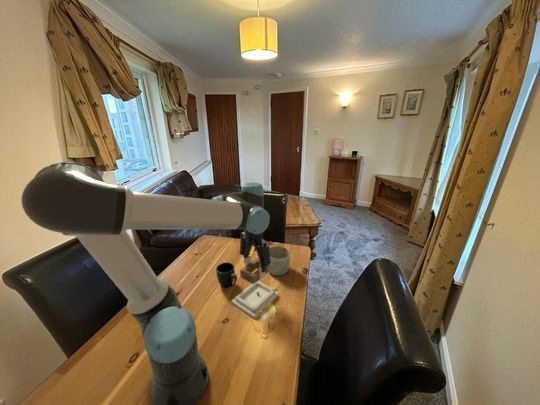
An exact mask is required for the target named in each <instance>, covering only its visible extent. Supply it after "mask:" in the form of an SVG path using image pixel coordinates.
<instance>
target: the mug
mask: <svg viewBox="0 0 540 405" xmlns="http://www.w3.org/2000/svg"><path fill="white" fill-rule="evenodd" d="M215 270H216V279H217V280H218V283H219V285H220V287H221V288H222V289H229V288H234V286H235V285H236V283H237V281H238V275H237V274H235V270H236V269H235V265H234V264H233V263H231V262H222V263H220V264H218V265H217V266H216V268H215Z"/></svg>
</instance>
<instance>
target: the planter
mask: <svg viewBox="0 0 540 405" xmlns="http://www.w3.org/2000/svg"><path fill="white" fill-rule="evenodd" d="M269 252H270V262H271V263H270V264H269V272H268V273H270V274H271V275H273V276H284V275H285V274H286V273H287V272H289V269H290V265H291V254H292V252H291V250H290V249H289V248H287V247H286V246H281V245H274V246H269Z"/></svg>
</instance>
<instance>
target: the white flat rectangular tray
mask: <svg viewBox="0 0 540 405" xmlns="http://www.w3.org/2000/svg"><path fill="white" fill-rule="evenodd" d="M277 297H279V292H278V291H276V289H274V288H272V287H270V286H268V285H266V284H265V283H263V282H261V281H260V280H258V281H257V282H256V283H254V284H252V283H250V284H249V286H247V287H246V288H245V289H243V291H241V292H239V294H237V295H236V296H235V297H234V298H233V299H232V300H231V303H232V304H233V305H234V306H236V307H237V308H239V309H240V310H241V311H243V312H244V313H246V314H247V315H249V316H250V317H251V318H252V319H256V318H257V317H258V316H259V315H260V314H261V313H260V311H261V310H262V309H264V308H265V307H266V306H267V305H268V304H269V305H270V304H271V303H272V302H273V301H274V300H276V298H277ZM269 305H268V306H269ZM268 306H267V307H268ZM267 307H266V308H267ZM266 308H265V309H266ZM265 309H264V310H265ZM259 313H260V314H259ZM258 314H259V315H258Z"/></svg>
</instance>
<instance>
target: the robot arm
mask: <svg viewBox="0 0 540 405" xmlns="http://www.w3.org/2000/svg"><path fill="white" fill-rule="evenodd" d="M264 192H265V191H264V186H263V185H262V184H261V183H258V182H246V183H244V184H243V185H242V188H241V190H240V191H237V192H230V193H225V194H220V195H217V196H213V197H212V198H211V199H207V198H195V197H187V196H178V195H177V196H175V195H167V194H158V193H157V194H156V193H148V192H147V193H146V192H138V191H132V190H131V189H130V188H128V187H127V186H126V185H123V184H121V185H120V184H114V183H108V182H105V181H104V179H103V177H102V175H101V174H100V173H99V172H97V170H96V169H93V168H92V167H90V166H89V165H88V166H87V165H86V164H83V163H79V162H76V161H75V162H73V161H63V162H61V161H60V162H58V163H57V162H56V163H52V164H51V165H47V166H44V167H43V168H42V169H41V170H38V172H37V173H36V174H35V175H34V177H33V178H32V179H31V180H30V181H29V182H28V183H27V184H26V185H25V187H24V189H23V192H22V194H21V204H22V209H23V211H24V213H25V214H26V216H27V217H28V218H29V220H30V221H32V223H34V224H36V225H37V226H39V227H41V228H43V229H46V230H48V231H52V232H54V233H60V234H62V235H63V236H67V237H76V238H77V239H78V240H79V242H80V243H81V244H82V246H83V247H84V248H85V249H86V251H88V253H89V254H90V256H92V258H93V259H94V260H95V261H96V262H97V263H98V265H99V266H100V267H101V269H102V270H103V271H104V272H105V274H106V275H107V276H108V277H109V279H111V281H112V283H114V285H115V286H116V287H117V288H118V289H119V290H120V292H121V293H122V294H123V296H124V297H125V298H126V299H127V304H126V305H127V306H126V309H127V311H128V312H129V314H130V315H131V316H132V317H133V318H134V320H135V321H136V322H137V324H139V327H140V330H141V333H142V337H143V343H144V347H145V351H146V352H147V355H148V361H149V363H150V367H151V371H152V375H153V378H152V384H151V388H150V399H151V402H152V405H197V404H198V403H199V402H200V401H201V399H202V398H203V395H204V394H205V392H206V390H207V387H208V383H209V368H208V365H207V363H206V361H205V359H204V358H203V357H202V355H201V354H200V352H199V347H198V338H197V332H196V330H197V327H196V323H195V320H194V318H193V315H192V313H191V312H190V311H189V310H188V309H186V308H185V307H183V305H182V304H181V301H180V300H179V298H178V295H177V293H176V292H175V289H174V288H173V287H171V286H170V284H169V283H168V281H167V280H165V279H162V278H158V277H157V275H156V274H155V272H154V271H153V269H152V267H151V266H150V264H149V263H148V262H147V259H145V258H144V257H145V256H144V255H143V254H142V253H141V251H140V249H139V248H138V246H137V245H136V244H135V242H134V241H133V239H132V238H131V235H129V234H128V232H127V231H129V230H243V232H241V233H240V234H239V237H240V245H239V248H240V249H239V254H240V255H241V256H242V257H243V261H244V265H245V266H247V265H248V264H250V263H251V262H252V258H251V257H252V256H251V251H252V248H254V250H255V252H256V254H257V256H258V260H259V261H260V265H259V281H261V280H262V279H264V278H265V277H266V275H265V271H266V266H268V265H269V264H270V263H271V262H270V252H269V248H270V244H271V242H270V241H269V240H267V241H266V240H265V238H264V232H265V231H266V230H267V229H268V227H269V224H270V220H271V219H270V217H271V216H270V214H269V212H268V211H267V210H266V209H264V206H265V204H264V201H265V200H264V198H265V197H264V196H265V195H264V194H265V193H264ZM245 266H244V267H245Z"/></svg>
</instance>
